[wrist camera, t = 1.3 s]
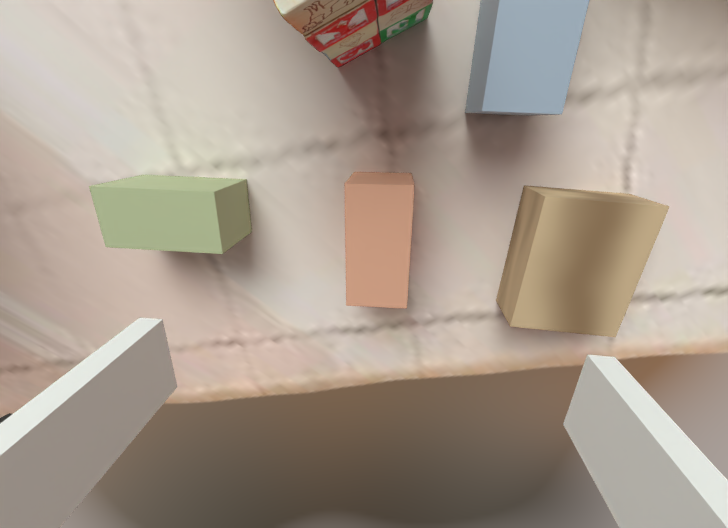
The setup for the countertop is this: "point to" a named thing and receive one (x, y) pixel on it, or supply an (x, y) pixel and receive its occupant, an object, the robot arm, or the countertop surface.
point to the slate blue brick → (524, 56)
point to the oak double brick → (576, 259)
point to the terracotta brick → (378, 238)
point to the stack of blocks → (351, 23)
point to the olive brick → (173, 213)
